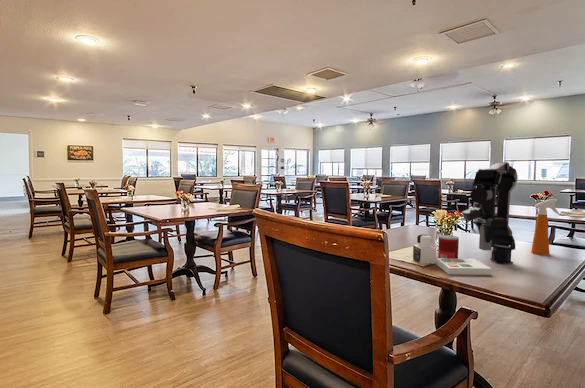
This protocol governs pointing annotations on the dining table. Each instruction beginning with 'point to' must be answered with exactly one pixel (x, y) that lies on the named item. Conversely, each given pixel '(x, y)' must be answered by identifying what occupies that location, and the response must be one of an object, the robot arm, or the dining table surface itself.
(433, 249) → the medicine bottle
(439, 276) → the dining table surface
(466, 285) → the dining table surface
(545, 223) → the spray bottle
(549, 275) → the dining table surface
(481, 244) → the plug
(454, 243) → the canned food
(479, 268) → the socket board
